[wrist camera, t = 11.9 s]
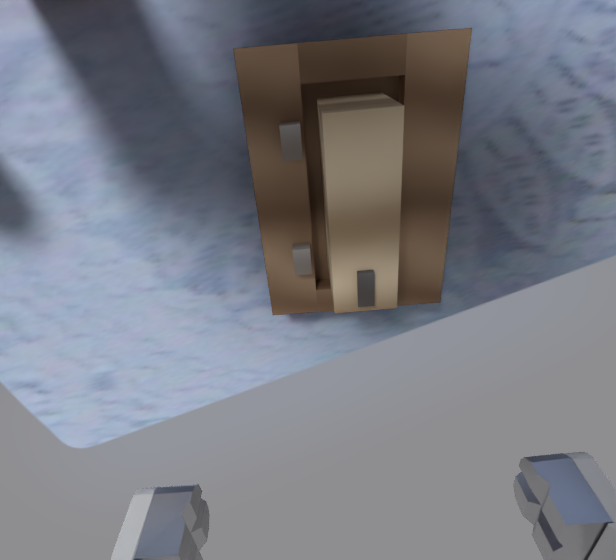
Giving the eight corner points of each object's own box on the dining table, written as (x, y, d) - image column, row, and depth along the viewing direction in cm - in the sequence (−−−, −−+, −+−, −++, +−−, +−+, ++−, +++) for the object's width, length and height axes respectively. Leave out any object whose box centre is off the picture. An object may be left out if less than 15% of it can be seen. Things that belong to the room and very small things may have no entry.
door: (316, 98, 25) (322, 115, 19) (381, 92, 25) (406, 106, 19) (327, 267, 31) (335, 317, 25) (379, 263, 31) (398, 311, 25)
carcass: (240, 47, 25) (231, 49, 21) (450, 29, 25) (479, 27, 21) (274, 291, 34) (272, 323, 30) (427, 279, 34) (444, 309, 30)
